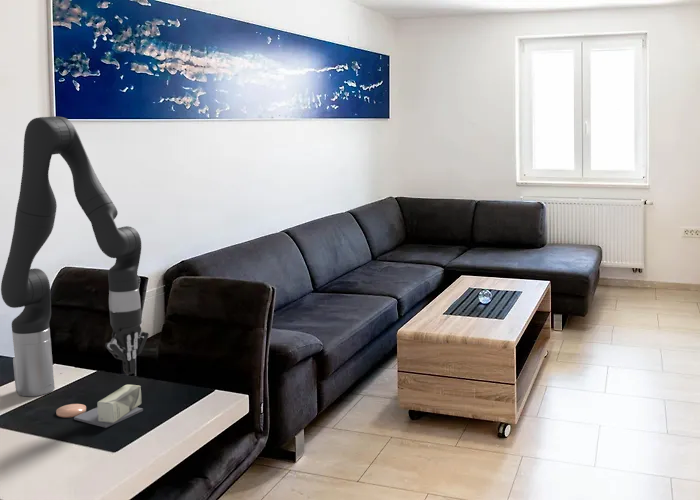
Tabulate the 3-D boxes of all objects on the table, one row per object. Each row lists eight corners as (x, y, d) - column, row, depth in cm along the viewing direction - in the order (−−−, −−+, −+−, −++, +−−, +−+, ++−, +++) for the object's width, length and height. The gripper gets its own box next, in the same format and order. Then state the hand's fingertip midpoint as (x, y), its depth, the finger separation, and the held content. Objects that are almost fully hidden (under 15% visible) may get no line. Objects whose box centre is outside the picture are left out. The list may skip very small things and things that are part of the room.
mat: (74, 419, 182) (73, 417, 182) (111, 403, 193) (111, 401, 192) (106, 427, 177) (105, 425, 177) (143, 410, 187) (142, 408, 187)
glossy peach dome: (50, 414, 186) (50, 411, 186) (73, 405, 192) (73, 402, 192) (69, 419, 182) (69, 416, 182) (92, 409, 188) (92, 406, 188)
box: (142, 403, 190) (114, 424, 178) (126, 402, 191) (97, 422, 179) (140, 384, 189) (112, 403, 177) (125, 382, 190) (96, 402, 178)
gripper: (133, 299, 194) (138, 363, 197) (93, 311, 183) (98, 378, 186) (155, 302, 191) (159, 368, 194) (115, 314, 179) (120, 383, 182)
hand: (129, 373), depth 190 cm, fingers closed
